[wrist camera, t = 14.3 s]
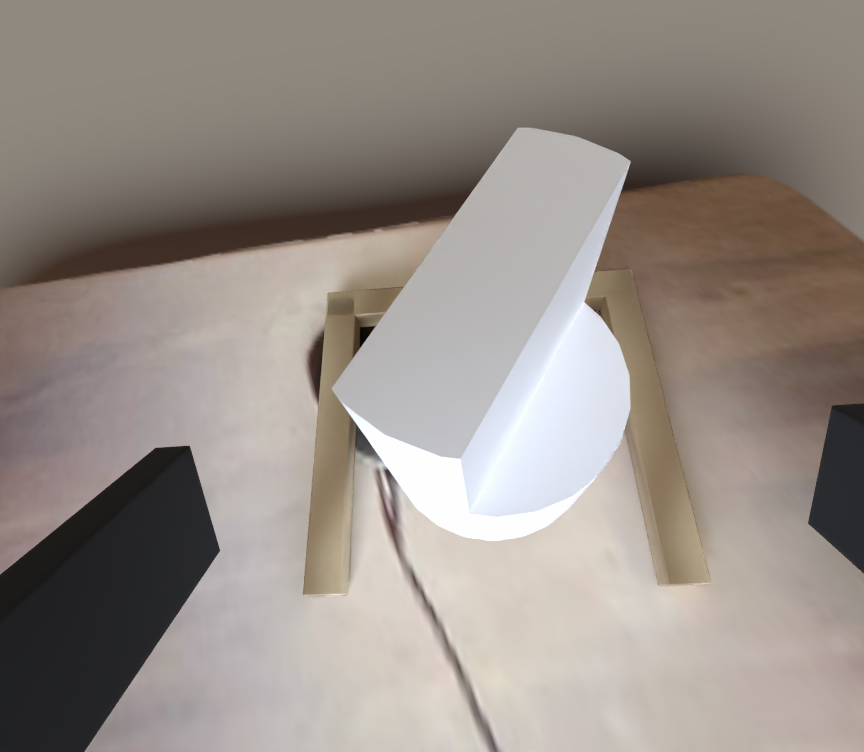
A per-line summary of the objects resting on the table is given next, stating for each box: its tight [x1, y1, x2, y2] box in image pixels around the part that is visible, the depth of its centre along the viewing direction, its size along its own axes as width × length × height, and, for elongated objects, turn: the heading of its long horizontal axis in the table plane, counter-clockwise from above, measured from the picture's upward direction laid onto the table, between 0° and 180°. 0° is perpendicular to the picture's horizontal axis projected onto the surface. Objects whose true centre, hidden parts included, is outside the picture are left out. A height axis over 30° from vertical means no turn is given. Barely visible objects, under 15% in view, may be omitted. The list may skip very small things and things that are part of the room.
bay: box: [303, 268, 711, 597], centre depth 21 cm, size 15×14×1 cm
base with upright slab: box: [331, 128, 631, 541], centre depth 16 cm, size 9×9×12 cm
